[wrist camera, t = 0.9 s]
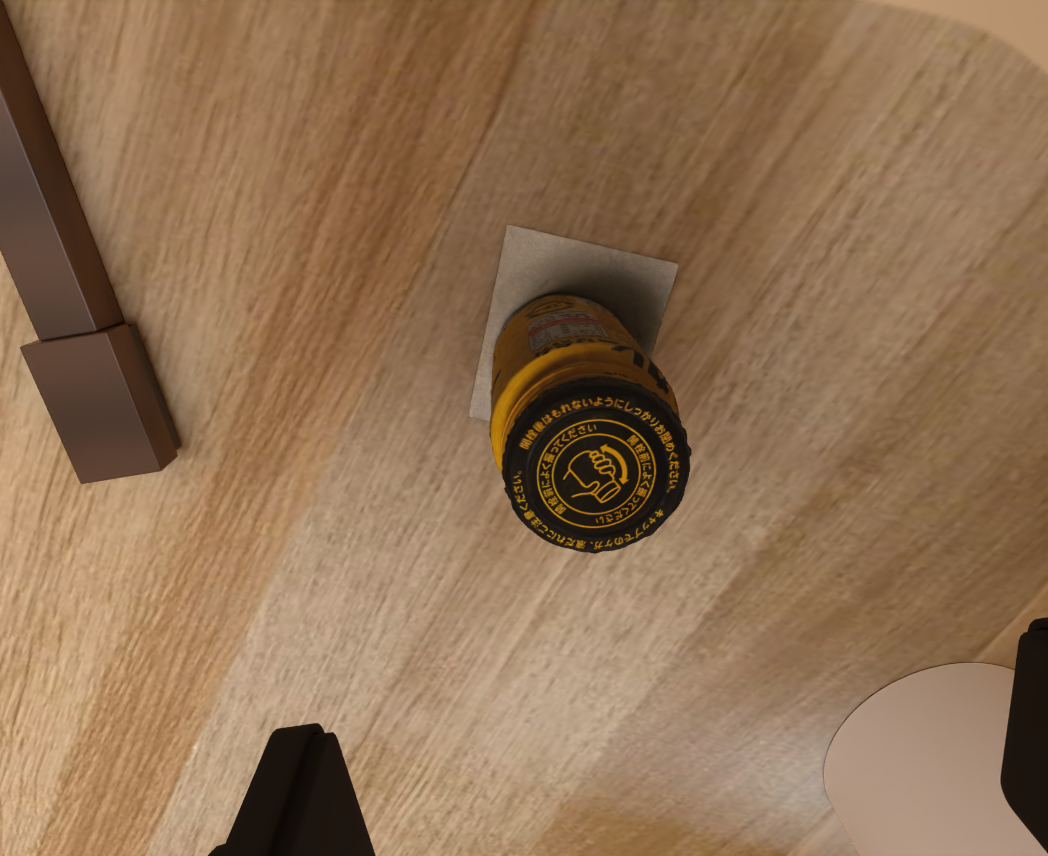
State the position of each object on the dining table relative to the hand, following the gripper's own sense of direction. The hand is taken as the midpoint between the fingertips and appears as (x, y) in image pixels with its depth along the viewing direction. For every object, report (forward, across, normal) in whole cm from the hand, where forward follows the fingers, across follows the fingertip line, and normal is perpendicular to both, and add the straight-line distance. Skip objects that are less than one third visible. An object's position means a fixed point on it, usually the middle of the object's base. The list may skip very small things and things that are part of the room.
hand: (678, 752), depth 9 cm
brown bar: (+21, +19, -8) cm, 29 cm away
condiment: (+22, -1, -1) cm, 22 cm away
